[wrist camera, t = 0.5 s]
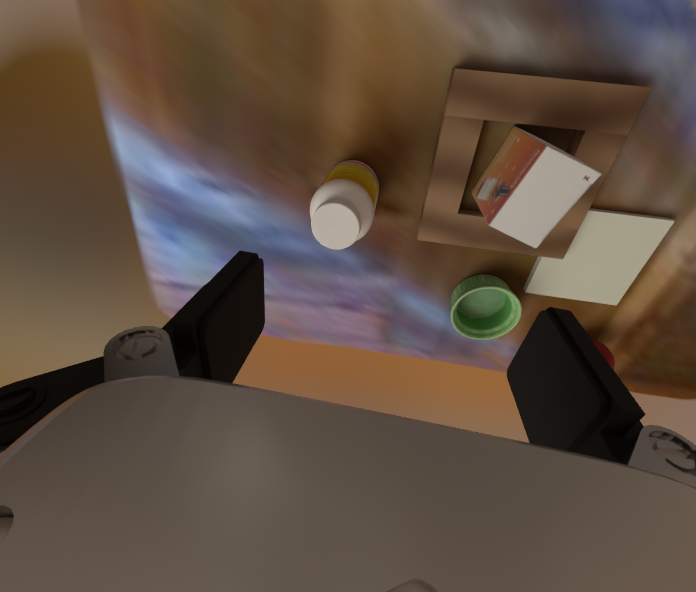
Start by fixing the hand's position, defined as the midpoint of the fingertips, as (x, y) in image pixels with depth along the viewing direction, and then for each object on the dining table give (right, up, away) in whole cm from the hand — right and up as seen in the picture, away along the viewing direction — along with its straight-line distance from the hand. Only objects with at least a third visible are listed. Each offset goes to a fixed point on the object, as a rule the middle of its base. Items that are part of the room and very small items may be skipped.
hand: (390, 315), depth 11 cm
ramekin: (+18, +1, +36) cm, 41 cm away
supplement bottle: (-1, +14, +30) cm, 33 cm away
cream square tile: (+29, +6, +31) cm, 43 cm away
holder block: (+17, +15, +26) cm, 35 cm away
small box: (+17, +15, +26) cm, 35 cm away
